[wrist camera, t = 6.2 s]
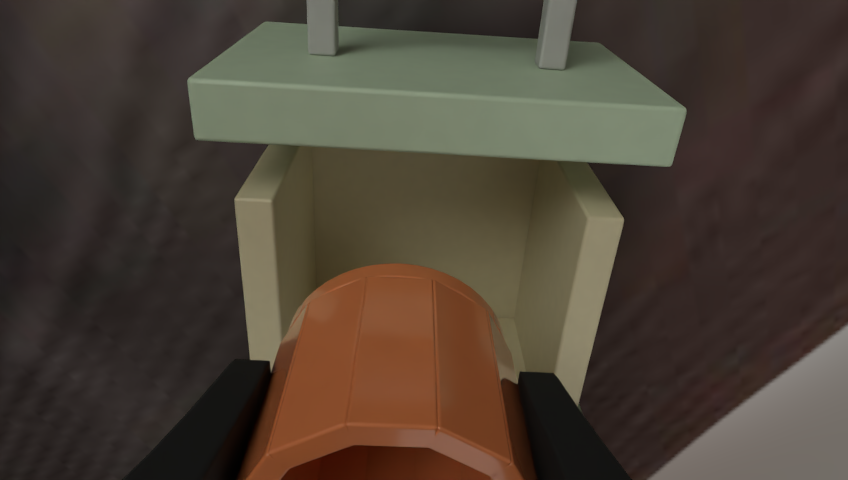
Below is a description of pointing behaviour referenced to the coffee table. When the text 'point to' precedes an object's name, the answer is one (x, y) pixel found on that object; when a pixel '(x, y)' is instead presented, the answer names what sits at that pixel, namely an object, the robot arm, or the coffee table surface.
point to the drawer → (434, 168)
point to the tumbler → (391, 386)
